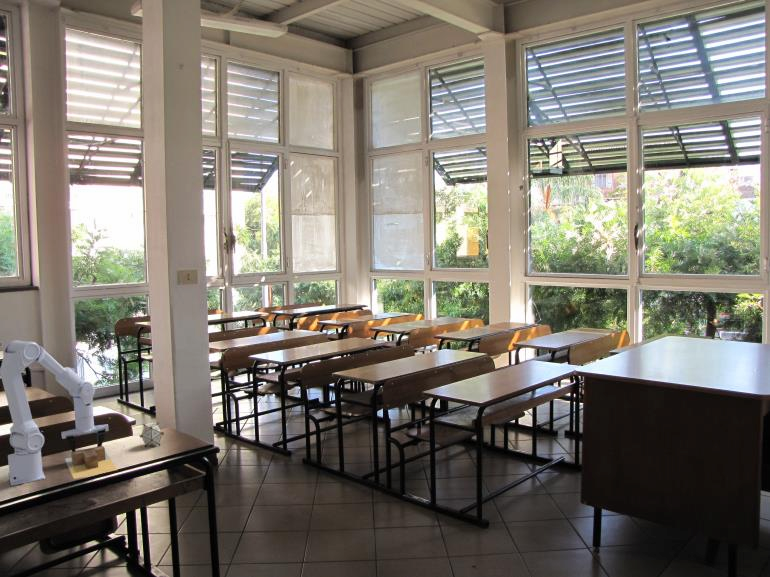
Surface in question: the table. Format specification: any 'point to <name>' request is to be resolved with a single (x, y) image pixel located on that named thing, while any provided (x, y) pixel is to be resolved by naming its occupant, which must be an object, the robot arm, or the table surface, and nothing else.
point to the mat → (83, 472)
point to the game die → (151, 434)
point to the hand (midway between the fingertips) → (87, 454)
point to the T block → (88, 457)
